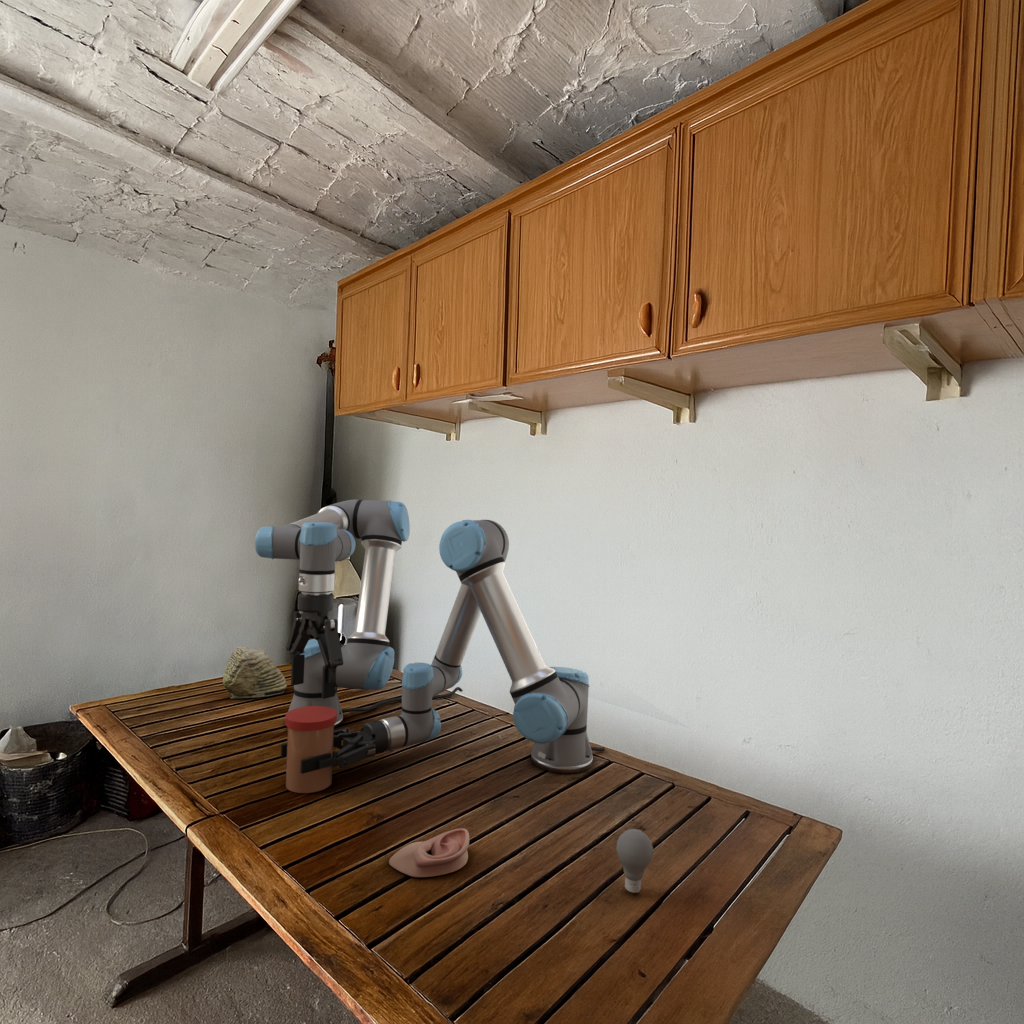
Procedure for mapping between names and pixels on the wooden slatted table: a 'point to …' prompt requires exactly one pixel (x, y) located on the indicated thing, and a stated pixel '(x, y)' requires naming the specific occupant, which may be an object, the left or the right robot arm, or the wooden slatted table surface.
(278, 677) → the fossil
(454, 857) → the anatomical model
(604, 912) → the wooden slatted table surface
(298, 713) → the lid
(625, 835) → the light bulb
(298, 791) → the jar
